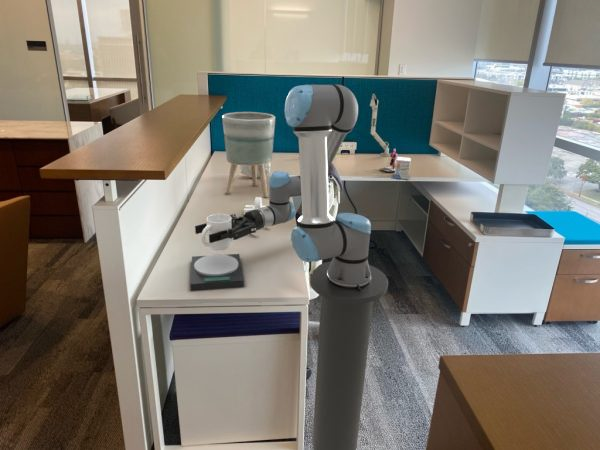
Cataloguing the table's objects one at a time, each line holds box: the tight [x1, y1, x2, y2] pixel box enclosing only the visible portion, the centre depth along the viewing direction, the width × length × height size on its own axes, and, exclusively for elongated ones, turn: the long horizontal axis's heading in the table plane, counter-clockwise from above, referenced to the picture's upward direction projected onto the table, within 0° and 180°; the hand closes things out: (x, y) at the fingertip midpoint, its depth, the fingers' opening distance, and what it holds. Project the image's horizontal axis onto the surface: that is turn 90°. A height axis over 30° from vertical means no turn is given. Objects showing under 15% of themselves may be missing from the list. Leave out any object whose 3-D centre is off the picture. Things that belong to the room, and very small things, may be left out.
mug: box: [200, 213, 233, 251], centre depth 150 cm, size 12×8×10 cm
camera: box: [239, 162, 272, 179], centre depth 261 cm, size 11×18×16 cm, turn 97°
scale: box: [190, 253, 245, 291], centre depth 153 cm, size 20×17×3 cm
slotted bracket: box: [243, 196, 267, 216], centre depth 208 cm, size 13×7×8 cm, turn 88°
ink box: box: [393, 156, 412, 180], centre depth 274 cm, size 9×8×12 cm
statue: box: [379, 148, 398, 173], centre depth 286 cm, size 11×9×15 cm
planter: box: [221, 111, 276, 198], centre depth 231 cm, size 26×26×40 cm
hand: (202, 234), depth 147 cm, fingers closed on mug, 8 cm apart
